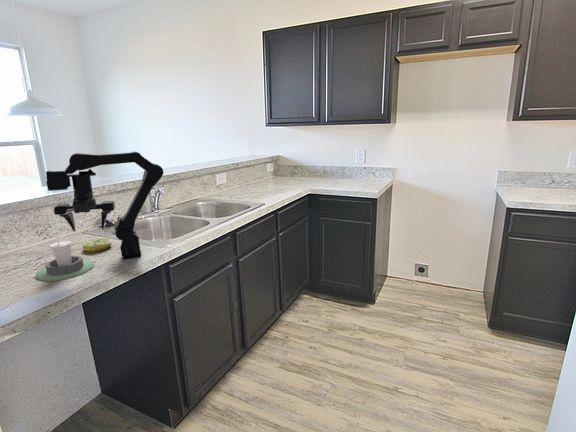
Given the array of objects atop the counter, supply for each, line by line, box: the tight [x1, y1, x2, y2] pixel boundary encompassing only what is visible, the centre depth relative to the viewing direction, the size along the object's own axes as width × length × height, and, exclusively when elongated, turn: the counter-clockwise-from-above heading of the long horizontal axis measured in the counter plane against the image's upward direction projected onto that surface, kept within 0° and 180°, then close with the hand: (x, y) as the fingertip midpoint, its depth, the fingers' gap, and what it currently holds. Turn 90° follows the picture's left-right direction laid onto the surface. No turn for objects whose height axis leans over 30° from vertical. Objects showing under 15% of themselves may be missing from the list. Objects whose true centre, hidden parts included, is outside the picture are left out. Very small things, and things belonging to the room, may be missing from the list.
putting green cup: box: [35, 255, 95, 282], centre depth 122 cm, size 18×18×3 cm
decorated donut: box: [82, 237, 113, 253], centre depth 144 cm, size 10×11×4 cm
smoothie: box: [50, 232, 73, 266], centre depth 120 cm, size 6×6×14 cm
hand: (89, 230), depth 125 cm, fingers open, 9 cm apart
